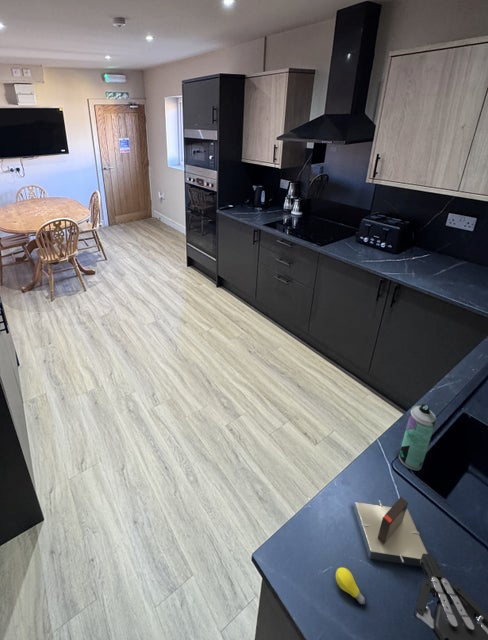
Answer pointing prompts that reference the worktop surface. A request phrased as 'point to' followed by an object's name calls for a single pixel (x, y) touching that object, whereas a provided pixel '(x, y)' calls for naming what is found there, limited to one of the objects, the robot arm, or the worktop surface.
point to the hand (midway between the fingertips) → (426, 556)
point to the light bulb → (348, 584)
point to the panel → (399, 546)
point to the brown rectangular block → (392, 519)
